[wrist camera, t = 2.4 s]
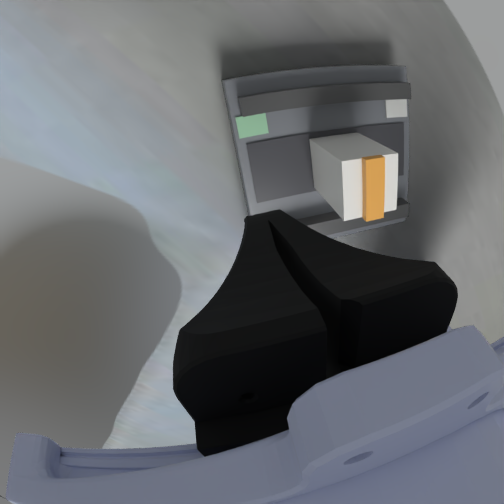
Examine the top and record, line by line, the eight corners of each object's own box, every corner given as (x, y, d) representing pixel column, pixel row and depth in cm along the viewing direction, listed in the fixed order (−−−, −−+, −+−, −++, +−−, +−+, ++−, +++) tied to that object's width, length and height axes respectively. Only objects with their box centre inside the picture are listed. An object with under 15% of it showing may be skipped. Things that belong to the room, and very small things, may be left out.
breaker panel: (392, 209, 22) (412, 227, 20) (253, 239, 22) (261, 264, 20) (388, 64, 16) (415, 67, 14) (221, 80, 16) (225, 81, 13)
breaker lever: (359, 179, 18) (400, 213, 14) (314, 188, 18) (347, 225, 14) (356, 131, 17) (402, 154, 13) (309, 138, 16) (345, 163, 12)
